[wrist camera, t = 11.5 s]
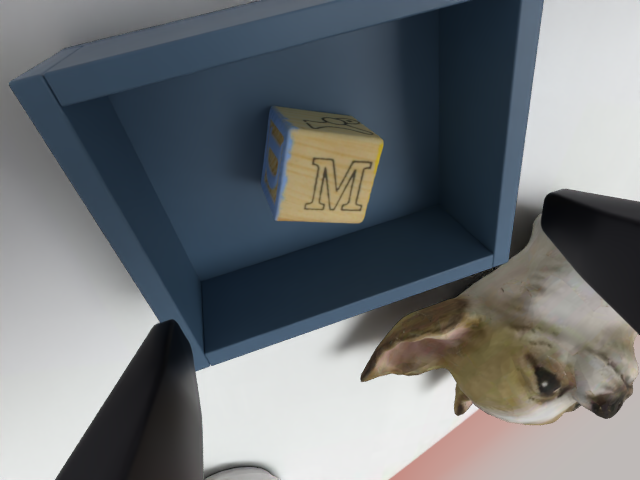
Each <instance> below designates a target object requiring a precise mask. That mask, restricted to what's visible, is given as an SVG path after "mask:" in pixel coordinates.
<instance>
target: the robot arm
mask: <svg viewBox="0 0 640 480" xmlns="http://www.w3.org/2000/svg"><path fill="white" fill-rule="evenodd" d="M540 224H541V228H542V230H543V232H544V233H545V234H546V235H547V237H548V238H549V239H550V240H551V242H552V243H553V244H554V245H555V246H556V248H557V249H558V250H559V251H560V252H561V254H562V255H563V256H564V257H565V258H566V260H567V261H568V262H569V263H570V264H571V266H572V267H573V268H574V269H575V271H576V272H577V273H578V274H579V275H580V276H581V277H582V279H583V280H584V281H585V282H586V283H587V284H588V285H589V286H590V287H591V288H592V289H593V290H594V291H595V292H596V293H597V294H598V295H599V296H600V297H601V298H602V299H603V300H604V301H605V302H606V303H607V304H608V305H609V306H610V307H612V308H613V309H614V310H615V311H616V312H617V313H618V314H619V315H620V316H621V317H622V318H623V319H624V320H625V321H626V322H627V323H628V324H629V325H630V326H631V327H632V328H633V329H634V330H635V331H636V332H637V333H638V334H639V335H640V202H638V201H632V200H626V199H621V198H615V197H609V196H603V195H598V194H592V193H586V192H581V191H575V190H569V189H561V190H558V191H555V192H552V193H549V194H548V195H547V196H546V197H545V199H544V204H543V210H542V215H541V221H540ZM55 480H204V472H203V432H202V414H201V407H200V400H199V393H198V386H197V379H196V373H195V366H194V359H193V353H192V348H191V345H190V343H189V341H188V340H187V338H186V336H185V334H184V333H183V331H182V329H181V328H180V326H179V324H178V323H177V322H176V321H175V320H173V319H170V320H167V321H164V322H161V323H158V324H156V325H154V326H153V328H152V329H151V331H150V332H149V334H148V335H147V337H146V338H145V340H144V342H143V343H142V345H141V346H140V348H139V349H138V351H137V353H136V354H135V356H134V357H133V359H132V360H131V362H130V363H129V365H128V367H127V368H126V370H125V371H124V373H123V374H122V376H121V377H120V379H119V381H118V382H117V384H116V385H115V387H114V388H113V390H112V392H111V393H110V395H109V396H108V398H107V399H106V401H105V402H104V404H103V406H102V407H101V409H100V410H99V412H98V413H97V415H96V417H95V418H94V420H93V421H92V423H91V424H90V426H89V427H88V429H87V431H86V432H85V434H84V435H83V437H82V438H81V440H80V442H79V443H78V445H77V446H76V448H75V449H74V451H73V452H72V454H71V456H70V457H69V459H68V460H67V462H66V463H65V465H64V466H63V468H62V470H61V471H60V473H59V474H58V476H57V477H56V479H55Z"/></svg>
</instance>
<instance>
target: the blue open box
mask: <svg viewBox="0 0 640 480" xmlns="http://www.w3.org/2000/svg"><path fill="white" fill-rule="evenodd" d="M543 2H544V0H260V1H256V2H252V3H248V4H244V5H240V6H236V7H231V8H227V9H223V10H219V11H215V12H211V13H207V14H203V15H199V16H195V17H190V18H186V19H182V20H178V21H174V22H170V23H166V24H162V25H158V26H154V27H149V28H145V29H141V30H137V31H133V32H129V33H125V34H121V35H117V36H113V37H109V38H104V39H100V40H96V41H92V42H88V43H84V44H80V45H76V46H72V47H68V48H64V49H63V50H61V51H60V52H58V53H56V54H55V55H53V56H52V57H50V58H48V59H47V60H45V61H43V62H42V63H40V64H38V65H37V66H35V67H33V68H32V69H30V70H28V71H27V72H25V73H23V74H22V75H20V76H18V77H17V78H15V79H13V80H12V81H10V82H9V86H10V88H11V89H12V91H13V93H14V94H15V96H16V97H17V99H18V100H19V102H20V104H21V105H22V107H23V108H24V110H25V111H26V113H27V114H28V116H29V118H30V119H31V121H32V122H33V124H34V125H35V127H36V129H37V130H38V132H39V133H40V135H41V136H42V138H43V140H44V141H45V143H46V144H47V146H48V147H49V149H50V151H51V152H52V154H53V155H54V157H55V158H56V160H57V161H58V163H59V165H60V166H61V168H62V169H63V171H64V172H65V174H66V176H67V177H68V179H69V180H70V182H71V183H72V185H73V187H74V188H75V190H76V191H77V193H78V194H79V196H80V198H81V199H82V201H83V202H84V204H85V205H86V207H87V209H88V210H89V212H90V213H91V215H92V216H93V218H94V219H95V221H96V223H97V224H98V226H99V227H100V229H101V230H102V232H103V234H104V235H105V237H106V238H107V240H108V241H109V243H110V245H111V246H112V248H113V249H114V251H115V252H116V254H117V256H118V257H119V259H120V260H121V262H122V263H123V265H124V267H125V268H126V270H127V271H128V273H129V274H130V276H131V277H132V279H133V281H134V282H135V284H136V285H137V287H138V288H139V290H140V292H141V293H142V295H143V296H144V298H145V299H146V301H147V303H148V304H149V306H150V307H151V309H152V310H153V312H154V314H155V315H156V317H157V318H158V320H159V321H160V323H161V322H164V321H167V320H170V319H173V320H175V321H176V322H177V323H178V324H179V326H180V328H181V329H182V331H183V333H184V334H185V336H186V338H187V340H188V341H189V343H190V345H191V348H192V353H193V359H194V366H195V371H198V370H201V369H204V368H206V367H209V366H210V364H211V366H213V365H216V364H219V363H222V362H225V361H227V360H230V359H233V358H236V357H239V356H242V355H245V354H247V353H250V352H253V351H256V350H259V349H262V348H265V347H267V346H270V345H273V344H276V343H279V342H282V341H285V340H288V339H290V338H293V337H296V336H299V335H302V334H305V333H308V332H310V331H313V330H316V329H319V328H322V327H325V326H328V325H330V324H333V323H336V322H339V321H342V320H345V319H348V318H350V317H353V316H356V315H359V314H362V313H365V312H368V311H370V310H373V309H376V308H379V307H382V306H385V305H388V304H390V303H393V302H396V301H399V300H402V299H405V298H408V297H410V296H413V295H416V294H419V293H422V292H425V291H428V290H430V289H433V288H436V287H439V286H442V285H445V284H448V283H450V282H453V281H456V280H459V279H462V278H465V277H468V276H470V275H473V274H476V273H479V272H482V271H485V270H488V269H490V268H492V267H496V266H499V265H502V264H505V263H507V262H508V261H509V254H510V246H511V239H512V231H513V224H514V217H515V209H516V202H517V194H518V187H519V180H520V172H521V165H522V157H523V150H524V143H525V135H526V128H527V120H528V113H529V106H530V98H531V91H532V83H533V76H534V69H535V61H536V54H537V46H538V39H539V32H540V24H541V17H542V10H543ZM271 106H278V107H285V108H293V109H300V110H307V111H315V112H323V113H331V114H339V115H346V116H352V117H354V118H355V119H356V120H358V121H359V122H360V123H361V124H363V125H364V126H365V127H367V128H368V129H369V130H371V131H372V132H374V133H375V134H377V135H378V136H379V137H380V138H381V139H382V140H383V149H382V153H381V156H380V160H379V164H378V167H377V171H376V175H375V178H374V182H373V186H372V189H371V193H370V198H369V202H368V204H367V209H366V212H365V216H364V219H363V221H362V222H361V223H330V222H304V221H276V220H275V219H274V217H273V214H272V211H271V209H270V206H269V204H268V201H267V199H266V197H265V194H264V192H263V189H262V186H261V177H262V169H263V162H264V152H265V144H266V135H267V127H268V118H269V111H270V108H271Z"/></svg>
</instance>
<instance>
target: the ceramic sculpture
mask: <svg viewBox="0 0 640 480" xmlns="http://www.w3.org/2000/svg"><path fill="white" fill-rule="evenodd" d="M541 215H542V213H541V214H539V215H538V216H537V218H536V219H535V221H534V223H533V230H532V235H531V238H530V241H529V243H528V244H527V246H526V247H525V248H524V249H523V250H522V251H521V252H519V253H518V254H516V255H515V256H513V257H512V258H511V259H509V261H508V262H507V263H505V264H503V265H501V266H500V267H499V268H498V269H496V270H494V271H493V272H491V273H490V274H488V275H486V276H485V277H483V278H482V279H480V280H479V281H477V282H476V283H474V284H473V285H472V286H470V287H469V288H468V289H466V290H465V291H464V292H462V293H461V294H460V295H458V296H457V297H456V298H453V299H448V300H445V301H443V302H440V303H437V304H435V305H432V306H429V307H426V308H424V309H421V310H418V311H415V312H412V313H410V314H408V315H407V316H405V317H403V318H402V319H401V320H400V321H399V322H398V323H397V324H396V325H395V326H394V327H393V328H392V330H391V331H390V332H389V333H388V334H387V335H386V336H385V338H384V339H383V340H382V341H381V343H380V344H379V345H378V347H377V348H376V349H375V351H374V353H373V355H372V356H371V358H370V360H369V362H368V363H367V365H366V367H365V369H364V371H363V372H362V374H361V382H366V381H368V380H371V379H374V378H376V377H379V376H383V375H387V374H392V373H393V374H397V375H407V376H412V375H419V374H422V373H424V372H427V371H430V370H434V369H439V368H445V369H447V370H449V371H450V373H451V374H452V376H453V377H454V379H455V381H456V382H457V384H456V389H455V390H456V396H455V403H454V411H455V414H456V415H457V416H459V415H461V414H464V413H465V412H466V411H467V410H468V409H469V407H470V406H471V405H472V403H473V404H474V405H475V406H477V407H478V408H479V409H481V410H482V411H484V412H485V413H487V414H489V415H492V416H494V417H496V418H499V419H501V420H504V421H506V422H510V423H517V424H524V425H544V424H550V423H553V422H555V421H556V420H558V419H559V418H560V417H561V416H562V414H563V413H565V412H570V411H574V410H575V409H577V408H579V407H580V406H581V405H582V406H583V407H585V408H587V409H588V410H590V411H592V412H593V413H595V414H596V415H597V416H600V417H602V418H605V419H608V418H611V417H613V416H614V415H615V414H616V413H617V412H618V411H619V409H620V408H621V406H622V404H623V402H624V401H625V400H626V399H627V398H628V397H629V396H631V395H632V393H633V385H632V384H633V381H634V380H635V379H636V377H637V376H638V365H637V361H636V358H635V355H634V347H633V344H634V340H635V338H636V336H637V335H638V333H637V332H636V331H635V330H634V329H633V328H632V327H631V326H630V325H629V324H628V323H627V322H626V321H625V320H624V319H623V318H622V317H621V316H620V315H619V314H618V313H617V312H616V311H615V310H614V309H613V308H612V307H610V306H609V305H608V304H607V303H606V302H605V301H604V300H603V299H602V298H601V297H600V296H599V295H598V294H597V293H596V292H595V291H594V290H593V289H592V288H591V287H590V286H589V285H588V284H587V283H586V282H585V281H584V280H583V279H582V277H581V276H580V275H579V274H578V273H577V272H576V271H575V269H574V268H573V267H572V266H571V264H570V263H569V262H568V261H567V260H566V258H565V257H564V256H563V255H562V254H561V252H560V251H559V250H558V249H557V248H556V246H555V245H554V244H553V243H552V242H551V240H550V239H549V238H548V237H547V235H546V234H545V233H544V232H543V230H542V228H541V224H540V221H541Z"/></svg>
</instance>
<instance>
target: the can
mask: <svg viewBox="0 0 640 480" xmlns="http://www.w3.org/2000/svg"><path fill="white" fill-rule="evenodd" d="M204 480H281V479H279V478H277V477H275V476H272V475H271V474H270V473H269V472H268V471H266V470H264V469H261V468H255V467H240V468H233V469H229V470H225V471H221V472H219V473H217V474H214V475H212V476H209V477H207V478H206V479H204Z"/></svg>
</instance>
